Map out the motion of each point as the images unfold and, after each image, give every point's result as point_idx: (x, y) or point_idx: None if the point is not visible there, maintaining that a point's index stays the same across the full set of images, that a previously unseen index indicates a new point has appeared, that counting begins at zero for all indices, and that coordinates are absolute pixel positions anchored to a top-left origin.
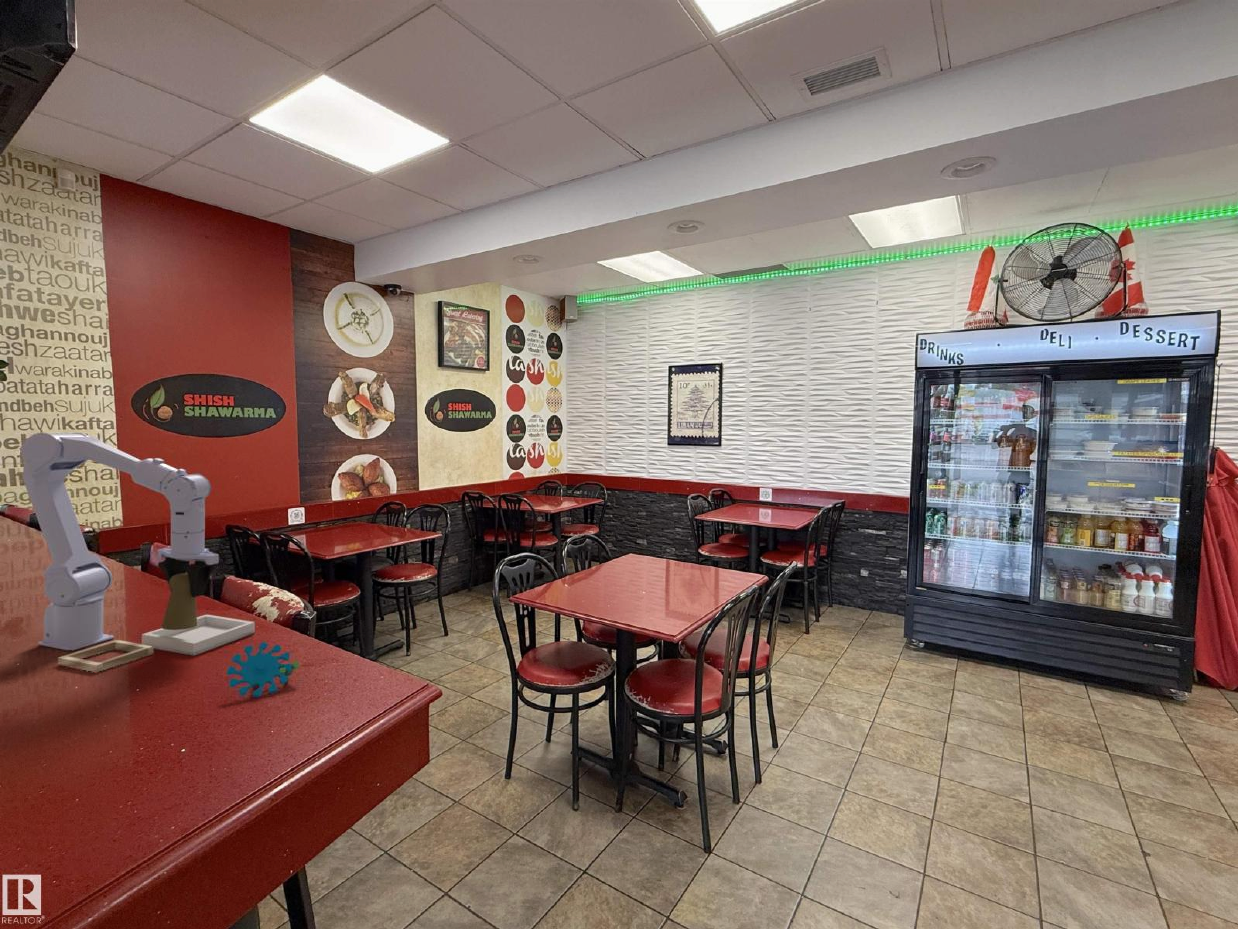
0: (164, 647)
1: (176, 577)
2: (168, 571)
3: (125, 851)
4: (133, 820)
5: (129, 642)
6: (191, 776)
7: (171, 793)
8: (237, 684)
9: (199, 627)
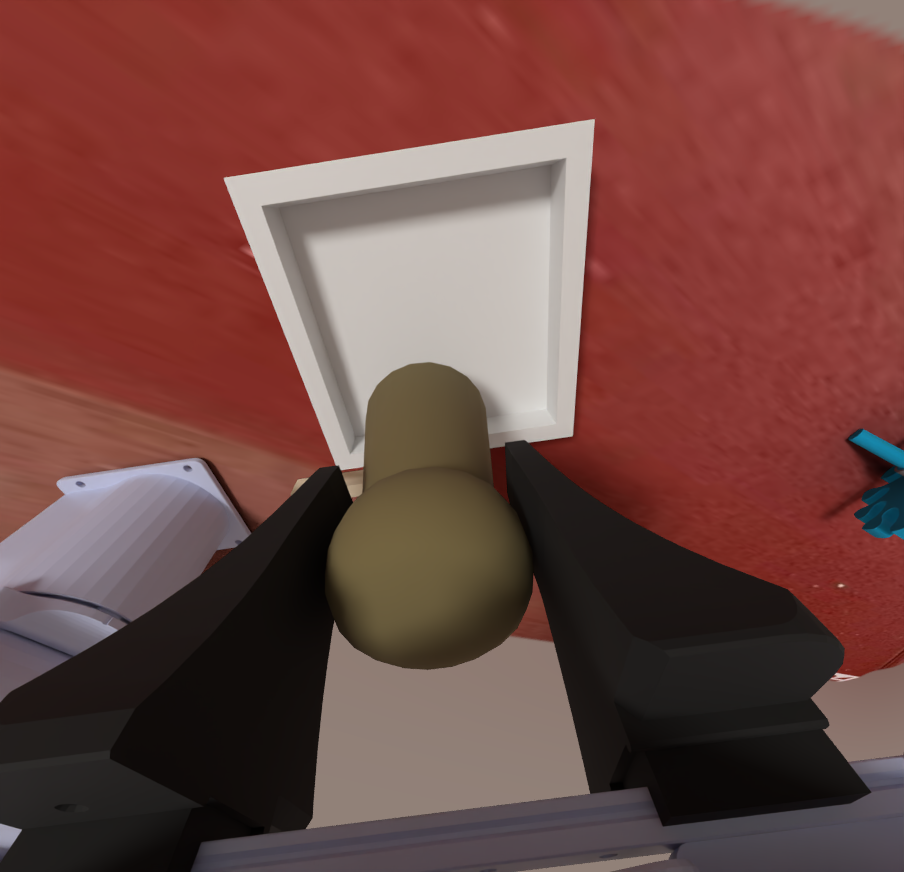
0: None
1: (455, 665)
2: (320, 709)
3: (883, 649)
4: (864, 638)
5: (347, 487)
6: (886, 600)
7: (879, 616)
8: (870, 506)
9: (309, 256)
